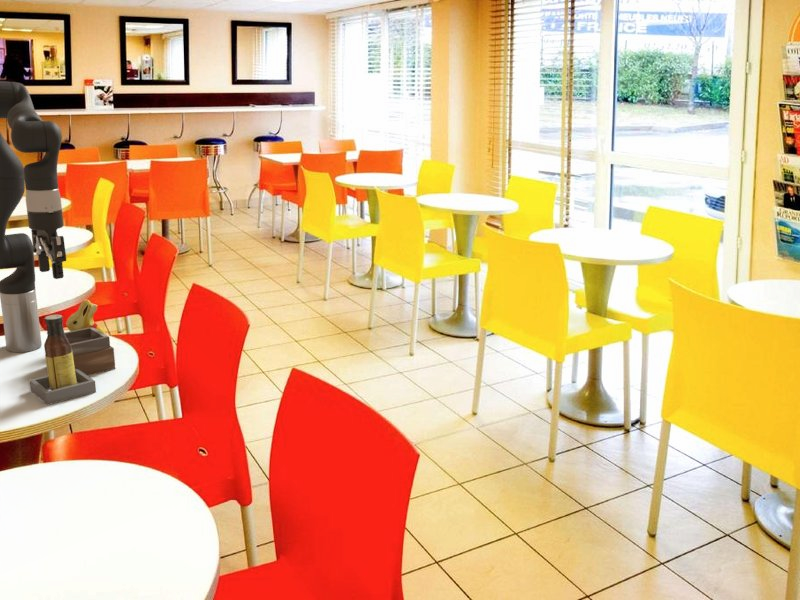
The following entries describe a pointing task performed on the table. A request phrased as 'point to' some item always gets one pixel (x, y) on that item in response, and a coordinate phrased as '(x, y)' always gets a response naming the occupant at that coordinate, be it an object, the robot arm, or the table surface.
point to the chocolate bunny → (83, 317)
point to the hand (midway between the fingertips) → (51, 274)
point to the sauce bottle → (58, 354)
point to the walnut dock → (91, 350)
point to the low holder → (65, 393)
